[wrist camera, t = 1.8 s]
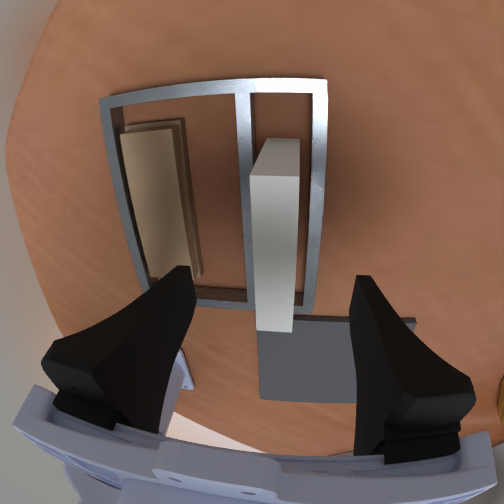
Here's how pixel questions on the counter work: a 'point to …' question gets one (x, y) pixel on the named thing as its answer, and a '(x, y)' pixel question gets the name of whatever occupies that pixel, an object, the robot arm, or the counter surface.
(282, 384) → the mat
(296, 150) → the gray rectangular block
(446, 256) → the counter surface
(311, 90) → the rack
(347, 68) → the counter surface
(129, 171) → the offcut stack
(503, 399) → the pancake mix bag
